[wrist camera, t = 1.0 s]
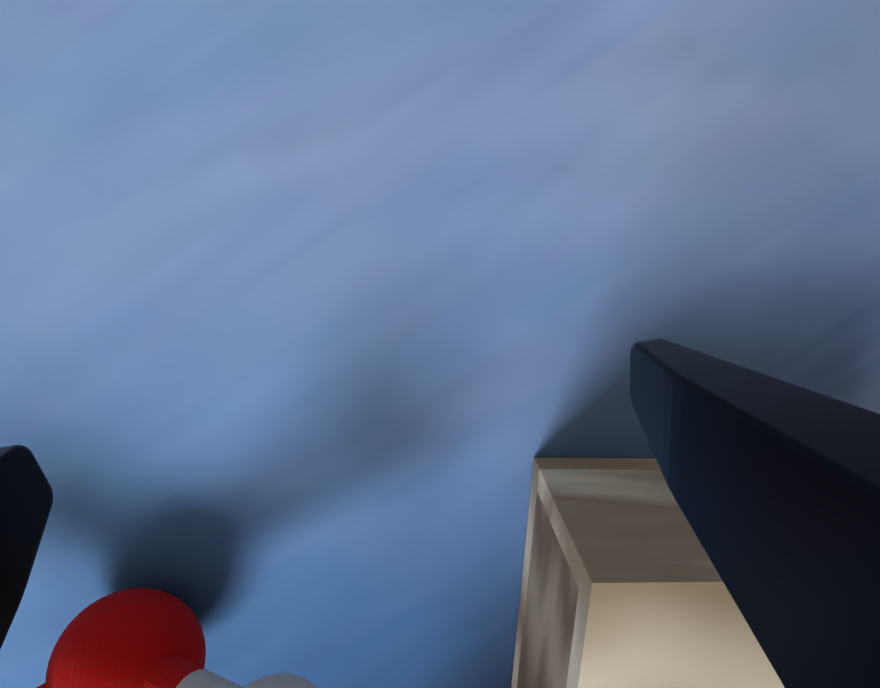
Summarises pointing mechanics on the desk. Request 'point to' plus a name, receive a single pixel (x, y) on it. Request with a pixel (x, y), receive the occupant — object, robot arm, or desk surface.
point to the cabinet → (623, 588)
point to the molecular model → (140, 647)
